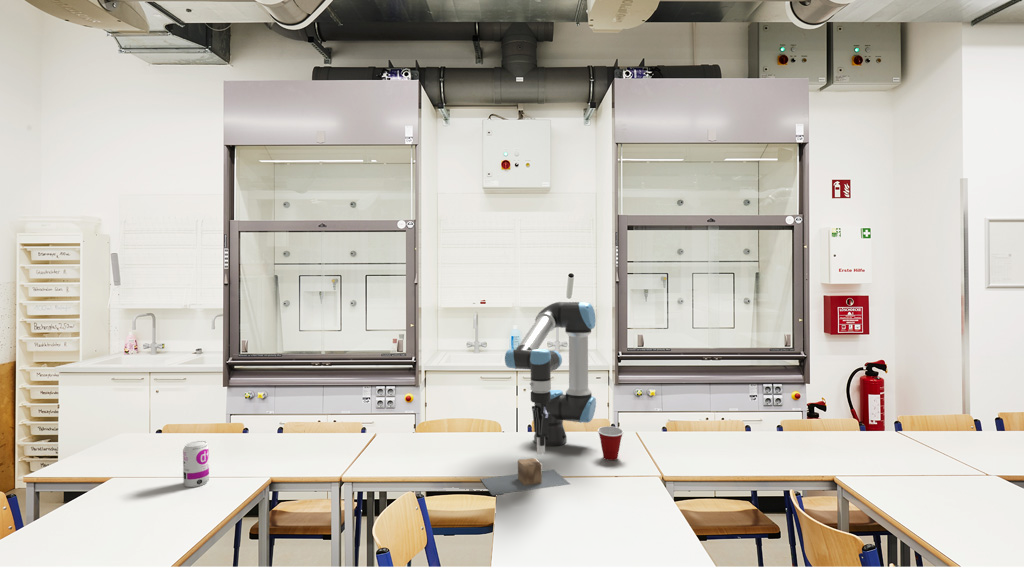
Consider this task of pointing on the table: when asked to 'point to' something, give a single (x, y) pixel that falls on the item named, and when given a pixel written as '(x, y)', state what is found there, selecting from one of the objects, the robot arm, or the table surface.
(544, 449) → the robot arm
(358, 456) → the table surface
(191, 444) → the supplement can
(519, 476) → the light wooden block
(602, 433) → the plastic cup
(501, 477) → the rubber mat
